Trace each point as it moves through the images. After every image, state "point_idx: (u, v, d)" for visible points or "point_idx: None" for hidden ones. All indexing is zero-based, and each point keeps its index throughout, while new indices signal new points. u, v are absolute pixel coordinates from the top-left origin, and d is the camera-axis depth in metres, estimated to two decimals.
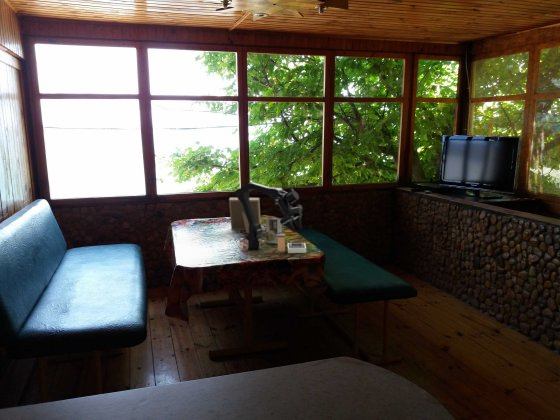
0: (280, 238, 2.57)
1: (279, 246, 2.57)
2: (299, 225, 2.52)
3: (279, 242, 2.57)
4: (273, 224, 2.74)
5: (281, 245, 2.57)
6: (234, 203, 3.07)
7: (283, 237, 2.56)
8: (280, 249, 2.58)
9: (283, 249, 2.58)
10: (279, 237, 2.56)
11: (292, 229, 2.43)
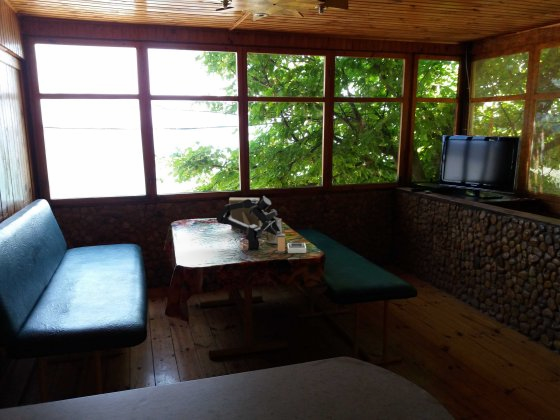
0: (280, 238, 2.57)
1: (279, 246, 2.57)
2: (277, 228, 2.63)
3: (279, 242, 2.57)
4: None
5: (281, 245, 2.57)
6: (234, 203, 3.07)
7: (283, 237, 2.56)
8: (280, 249, 2.58)
9: (283, 249, 2.58)
10: (279, 237, 2.56)
11: (273, 232, 2.53)
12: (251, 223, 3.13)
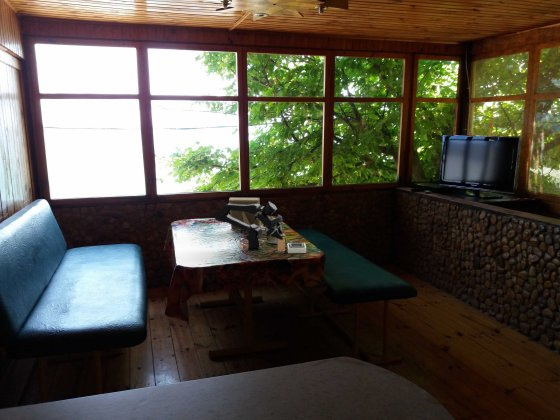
0: None
1: (279, 246, 2.57)
2: None
3: (279, 242, 2.57)
4: None
5: (281, 245, 2.57)
6: (234, 203, 3.07)
7: (283, 237, 2.56)
8: (280, 249, 2.58)
9: (283, 249, 2.58)
10: None
11: (280, 237, 2.55)
12: (251, 223, 3.13)
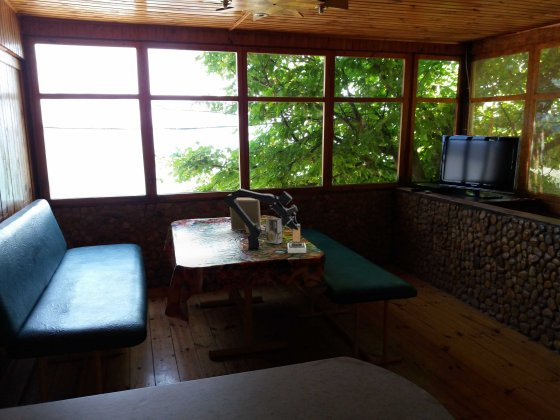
0: None
1: (295, 236, 2.56)
2: None
3: (294, 232, 2.56)
4: (273, 224, 2.74)
5: (297, 235, 2.56)
6: None
7: (298, 227, 2.55)
8: (295, 239, 2.57)
9: (298, 239, 2.57)
10: None
11: (295, 227, 2.54)
12: None
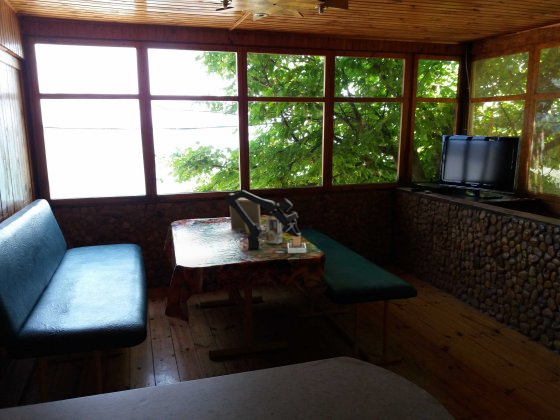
0: (295, 237, 2.56)
1: (295, 245, 2.57)
2: (297, 231, 2.62)
3: (294, 241, 2.57)
4: (273, 224, 2.74)
5: (297, 244, 2.57)
6: None
7: (298, 236, 2.56)
8: None
9: None
10: (294, 236, 2.56)
11: (295, 234, 2.54)
12: None
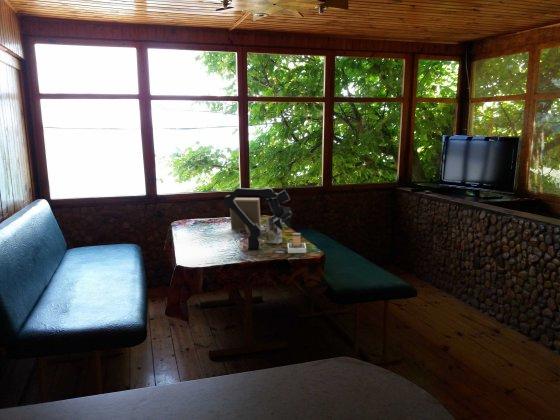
0: (295, 237, 2.56)
1: (295, 245, 2.57)
2: (280, 226, 2.65)
3: (294, 241, 2.57)
4: (273, 224, 2.74)
5: (296, 244, 2.57)
6: None
7: (298, 236, 2.56)
8: None
9: None
10: (294, 236, 2.56)
11: (289, 225, 2.57)
12: None
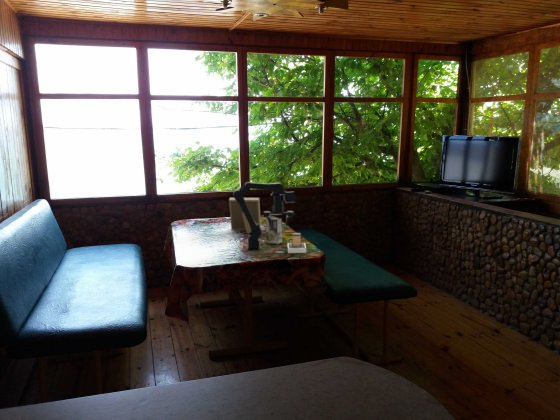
0: (295, 237, 2.56)
1: (295, 245, 2.57)
2: (271, 223, 2.64)
3: (294, 241, 2.57)
4: (273, 224, 2.74)
5: (296, 244, 2.57)
6: (234, 203, 3.07)
7: (298, 236, 2.56)
8: None
9: None
10: (294, 236, 2.56)
11: None
12: None
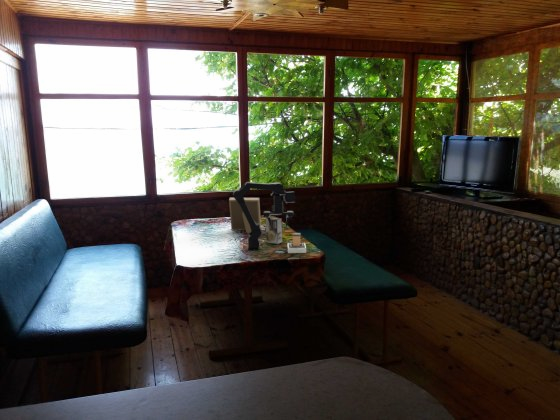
0: (295, 237, 2.56)
1: (295, 245, 2.57)
2: (271, 223, 2.64)
3: (294, 241, 2.57)
4: (273, 224, 2.74)
5: (296, 244, 2.57)
6: (234, 203, 3.07)
7: (298, 236, 2.56)
8: None
9: None
10: (294, 236, 2.56)
11: None
12: None
